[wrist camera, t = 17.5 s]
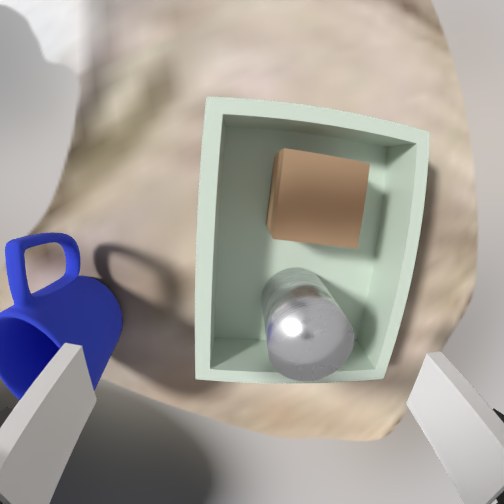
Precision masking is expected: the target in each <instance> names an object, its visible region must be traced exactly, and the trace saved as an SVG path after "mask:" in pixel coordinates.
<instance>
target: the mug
mask: <svg viewBox="0 0 504 504" xmlns="http://www.w3.org/2000/svg"><path fill="white" fill-rule="evenodd" d="M50 242H57V243H59V244H60V245H61V246H62V247H63V249H64V251H65V256H66V272H65V274H64V276H63V277H62V278H60V279H59V280H57V281H55V282H54V283H52V284H50V285H48V286H46V287H45V288H43V289H41V290H39V291H37V292H35V293H32V294H31V293H30V290H29V287H28V282H27V277H26V270H25V258H24V252H25V250H26V249H27V248H30V247H33V246H37V245H40V244H45V243H50ZM5 256H6V267H7V275H8V280H9V286H10V290H11V294H12V297H13V300H14V305H13V306H11V307H9V308H8V309H6V310H4V311H2V312H1V313H0V377H1V379H2V380H3V382H4V383H5V385H6V386H7V387H8V388H9V389H10V391H11V392H12V393H13V394H14V395H15V396H16V397H17V398H18V399H19V400H21V398H22V397H23V396H24V394H25V393H26V391H27V390H28V389H29V388H30V386H31V385H32V384H33V382H34V381H35V380H36V378H37V377H38V376H39V375H40V373H41V372H42V371H43V369H44V368H45V367H46V366H47V364H48V363H49V362H50V361H51V359H52V358H53V357H54V356H55V354H56V353H57V352H58V351H59V350H60V348H61V347H62V346H63V345H64V344H65V343H69V344H74V345H80V346H82V348H83V352H84V356H85V360H86V364H87V368H88V372H89V375H90V379H91V382H92V386H93V389H94V391H95V388H96V386H97V384H98V382H99V380H100V378H101V375H102V373H103V371H104V369H105V367H106V365H107V363H108V360H109V358H110V356H111V354H112V352H113V350H114V348H115V346H116V344H117V342H118V340H119V337H120V334H121V331H122V322H123V320H122V312H121V308H120V306H119V303H118V301H117V299H116V298H115V296H114V294H113V293H112V292H111V291H110V290H109V289H108V288H107V287H106V286H105V285H104V284H103V283H101V282H100V281H98V280H96V279H94V278H91V277H87V276H78V275H79V271H80V253H79V248H78V246H77V243H76V241H75V240H74V239H73V238H72V237H71V236H69V235H66V234H63V233H41V234H35V235H29V236H25V237H21V238H17V239H13V240H11V241H9V242H8V243H7V244H6V247H5Z"/></svg>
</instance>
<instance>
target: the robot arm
mask: <svg viewBox="0 0 504 504" xmlns="http://www.w3.org/2000/svg"><path fill="white" fill-rule="evenodd" d="M96 401H97V399H96V396H95V393H94V389H93V386H92V382H91V379H90V375H89V372H88V368H87V364H86V360H85V356H84V352H83V348H82V346H80V345H74V344H69V343H65V344H64V345H63V346H62V347H61V348H60V350H59V351H58V352H57V353H56V354H55V356H54V357H53V358H52V359H51V361H50V362H49V363H48V364H47V366H46V367H45V368H44V369H43V371H42V372H41V373H40V375H39V376H38V377H37V378H36V380H35V381H34V382H33V384H32V385H31V386H30V388H29V389H28V390H27V391H26V393H25V394H24V396H23V397H22V398H21V400H20V401H19V403H18V404H17V405H16V406H15V408H14V409H11V408H8V407H6V408H5V409H3V410H2V411H0V504H49V503H50V500H51V498H52V496H53V493H54V491H55V489H56V486H57V484H58V482H59V479H60V477H61V475H62V472H63V470H64V468H65V466H66V463H67V461H68V459H69V457H70V455H71V452H72V450H73V448H74V446H75V443H76V442H77V439H78V437H79V435H80V433H81V431H82V429H83V427H84V425H85V423H86V421H87V419H88V417H89V415H90V412H91V411H92V409H93V407H94V405H95V403H96ZM406 405H407V406H408V408H409V409H410V411H411V412H412V414H413V416H414V417H415V419H416V421H417V422H418V424H419V426H420V427H421V429H422V431H423V432H424V434H425V436H426V437H427V439H428V440H429V442H430V444H431V446H432V448H433V449H434V451H435V452H436V454H437V456H438V458H439V459H440V461H441V463H442V465H443V466H444V468H445V470H446V472H447V473H448V475H449V477H450V479H451V481H452V482H453V484H454V486H455V488H456V490H457V491H458V493H459V495H460V497H461V499H462V501H463V503H464V504H491V503H492V502H493V501H494V500H495V499H497V501H498V503H497V504H504V415H503V414H502V413H500V412H498V411H497V410H495V409H492V408H491V407H490V406H489V405H488V404H487V403H486V401H485V400H484V399H483V398H482V397H481V395H480V394H479V393H478V392H477V391H476V390H475V389H474V387H473V386H471V384H470V383H469V382H468V381H467V380H466V378H465V377H464V376H463V375H462V374H461V373H460V372H459V371H458V370H457V369H456V367H455V366H454V365H453V364H452V363H451V362H450V361H449V360H448V359H447V358H446V357H445V356H444V355H443V353H442V352H441V351H439V352H432V353H427V354H426V357H425V359H424V362H423V364H422V367H421V370H420V372H419V375H418V377H417V379H416V382H415V384H414V387H413V389H412V391H411V394H410V396H409V398H408V400H407V403H406Z"/></svg>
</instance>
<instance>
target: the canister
mask: <svg viewBox="0 0 504 504" xmlns="http://www.w3.org/2000/svg"><path fill="white" fill-rule="evenodd" d="M261 304H262V311H263V319H264V326H265V333H266V341H267V348H268V356H269V359H270V362H271V364H272V365H273V367H274V368H275V369H276V370H277V371H278V372H279V373H280V374H281V375H283V376H285V377H287V378H289V379H292V380H297V381H313V380H318V379H321V378H324V377H326V376H328V375H330V374H332V373H334V372H335V371H337V370H338V369H339V368H340V367H341V366H342V365H343V364H344V363H345V362H346V361H347V359H348V358H349V356H350V354H351V352H352V349H353V346H354V331H353V328H352V326H351V323H350V322H349V320H348V319H347V317H346V316H345V315H344V313H343V312H342V310H341V309H340V307H339V306H338V304H337V303H336V301H335V300H334V298H333V297H332V295H331V294H330V292H329V291H328V289H327V288H326V287H325V285H324V284H323V282H322V281H321V279H320V278H319V277H318V276H317V275H316V274H315V273H313V272H312V271H310V270H307V269H304V268H299V267H293V268H287V269H284V270H281V271H279V272H278V273H276V274H275V275H273V276H272V277H271V278H270V279H269V280H268V281H267V283H266V284H265V286H264V288H263V291H262V296H261Z"/></svg>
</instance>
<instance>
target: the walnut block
mask: <svg viewBox="0 0 504 504" xmlns="http://www.w3.org/2000/svg"><path fill="white" fill-rule="evenodd" d="M369 169H370V164H369V163H365V162H360V161H355V160H350V159H345V158H340V157H334V156H329V155H323V154H318V153H312V152H306V151H299V150H293V149H286V148H284V149H282V150H281V151H279V152H277V153H276V154H274V161H273V170H272V178H271V186H270V194H269V202H268V210H267V218H266V226H267V228H268V230H269V232H270V234H271V236H272V238H273V239H276V240H286V241H295V242H303V243H312V244H321V245H330V246H338V247H347V248H355V249H357V247H358V241H359V236H360V230H361V224H362V218H363V212H364V205H365V198H366V191H367V184H368V177H369Z"/></svg>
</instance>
